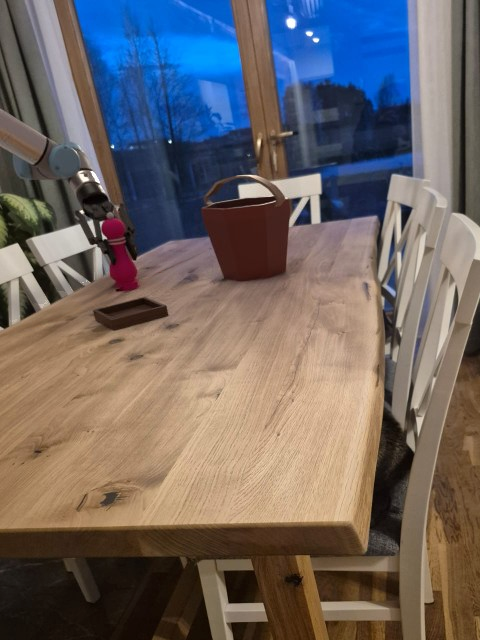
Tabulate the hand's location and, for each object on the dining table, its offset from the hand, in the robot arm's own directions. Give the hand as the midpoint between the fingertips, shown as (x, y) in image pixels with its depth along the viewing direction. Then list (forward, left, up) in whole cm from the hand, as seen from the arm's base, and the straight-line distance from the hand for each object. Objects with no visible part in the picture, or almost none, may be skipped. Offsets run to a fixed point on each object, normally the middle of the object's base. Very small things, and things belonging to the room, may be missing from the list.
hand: (125, 259), depth 151 cm
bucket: (+29, +17, -8) cm, 35 cm away
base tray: (+16, -23, -8) cm, 29 cm away
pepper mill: (-3, +2, -8) cm, 9 cm away
